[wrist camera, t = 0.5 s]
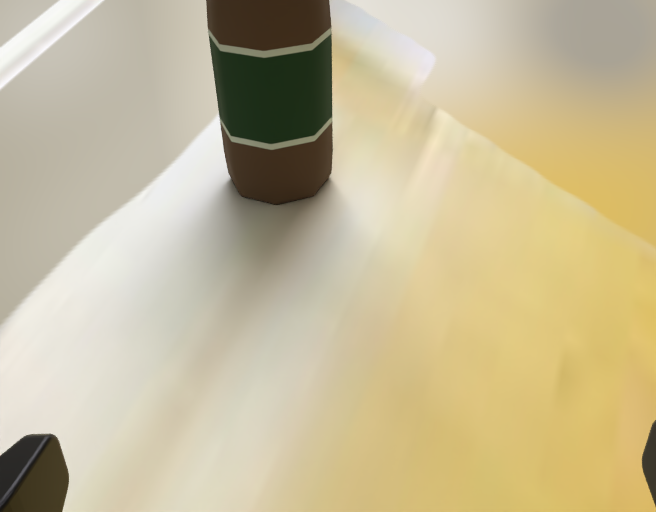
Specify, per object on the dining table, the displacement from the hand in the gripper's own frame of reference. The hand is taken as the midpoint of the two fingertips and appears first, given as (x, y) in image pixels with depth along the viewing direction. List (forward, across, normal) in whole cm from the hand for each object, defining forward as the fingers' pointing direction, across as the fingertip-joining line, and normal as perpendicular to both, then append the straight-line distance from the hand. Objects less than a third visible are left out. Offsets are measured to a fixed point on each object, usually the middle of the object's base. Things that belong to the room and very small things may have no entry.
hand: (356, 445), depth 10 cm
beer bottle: (+37, +4, +11) cm, 38 cm away
